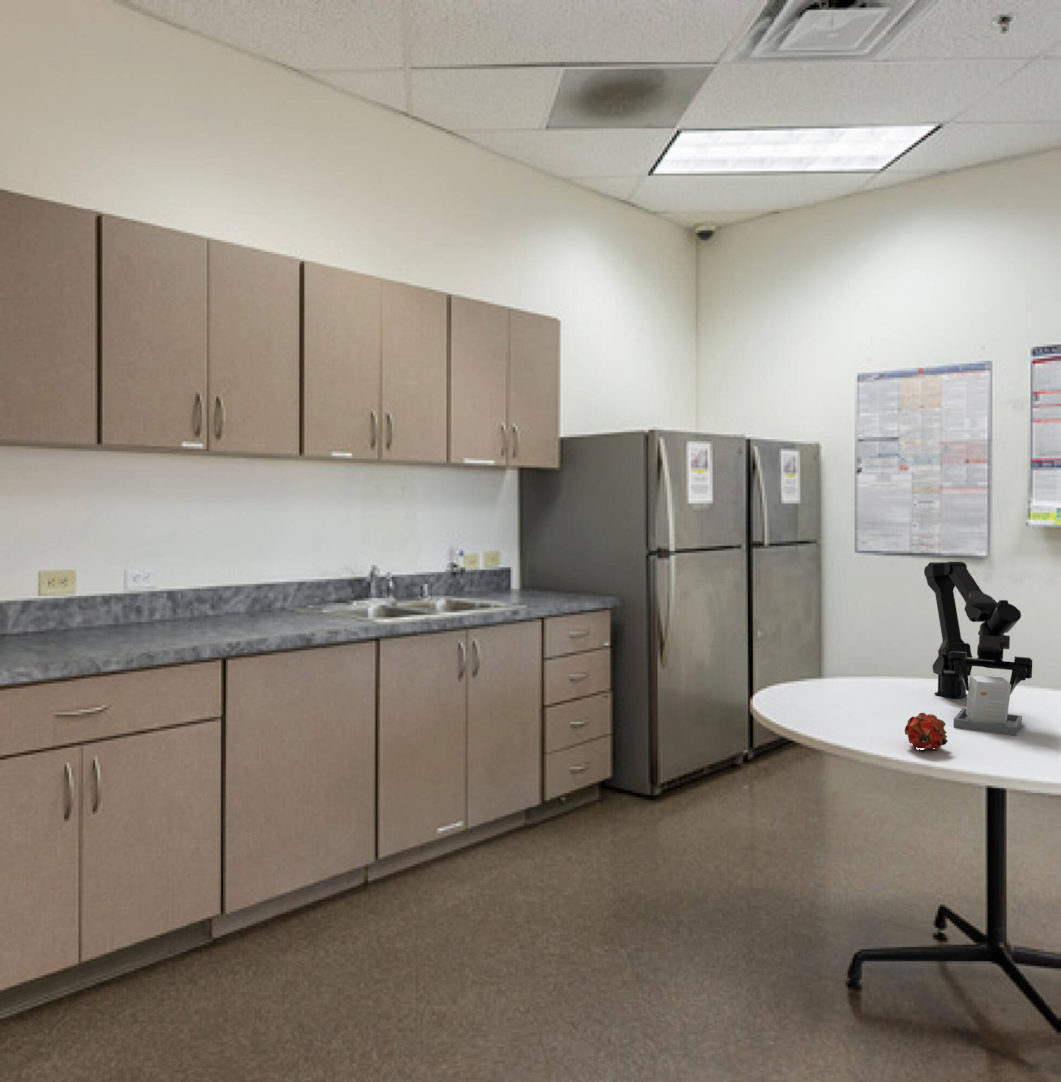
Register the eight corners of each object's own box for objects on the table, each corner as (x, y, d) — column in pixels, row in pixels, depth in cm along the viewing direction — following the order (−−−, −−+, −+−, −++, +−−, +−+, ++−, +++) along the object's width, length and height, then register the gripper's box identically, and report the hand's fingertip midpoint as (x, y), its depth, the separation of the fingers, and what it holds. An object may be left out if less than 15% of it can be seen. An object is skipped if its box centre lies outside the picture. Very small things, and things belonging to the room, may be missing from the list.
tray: (953, 726, 211) (953, 718, 211) (962, 715, 222) (962, 708, 222) (1016, 735, 204) (1016, 727, 203) (1022, 723, 215) (1022, 715, 215)
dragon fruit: (930, 748, 198) (927, 769, 188) (898, 724, 201) (893, 744, 190) (955, 723, 195) (953, 743, 184) (922, 698, 197) (918, 717, 187)
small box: (998, 717, 216) (1003, 677, 215) (1006, 725, 211) (1012, 684, 209) (964, 714, 218) (969, 674, 216) (972, 721, 212) (977, 681, 210)
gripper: (950, 620, 222) (945, 669, 213) (1033, 625, 213) (1032, 677, 204) (951, 645, 229) (947, 694, 220) (1032, 652, 220) (1031, 703, 211)
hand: (988, 692), depth 214 cm, fingers open, 9 cm apart
